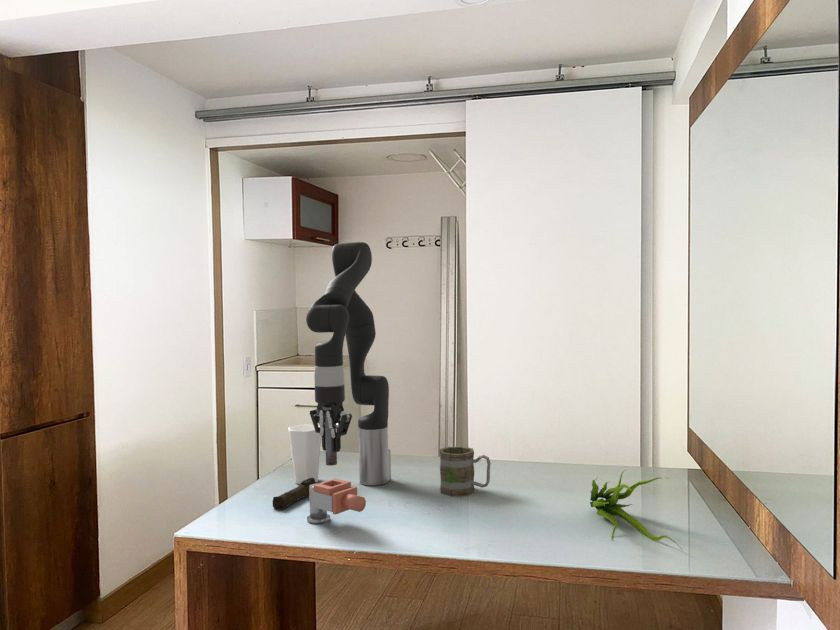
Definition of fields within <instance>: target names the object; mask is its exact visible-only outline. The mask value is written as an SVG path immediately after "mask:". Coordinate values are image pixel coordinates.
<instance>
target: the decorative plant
mask: <svg viewBox="0 0 840 630" xmlns="http://www.w3.org/2000/svg"><path fill="white" fill-rule="evenodd" d="M625 471H627V469H625V470H624V471H622V472H621V474H620V477H619V480H618V484H617V486H615V487H612V488H611V487H610V488H609V489H607V488H608V483H609V484H610V481H606V482H605V483H604V484H603V487H602V488H599V485H598V484H597V482H596V479H598V476H597V478H596V479H593V480H592V483H591V486H592V487H591V488H592V489H591V491H590V499H589V500H590V502H589V504H590V508H595V509H596V515H597V516H600V517H603V518H604V519H607V520H609V521H610V522H611V523H612V524H613V525H614V526H613V529H612V533H611V541H614V539H613V538H614V534H615V532H616V530H617V527H618V525H619V522H618V520H617V519H616V517H619V518H621V519H623V520H624V521H626V522H627V523H628V524H630V525H631V526H632V527H633V528H635V529H636V530H637V531H639V532H640V533H641V534H642V535H643V536H645V537H647V538H648V539H650V540H653V541H660V540H662V539H664V538H667V539H669V540H670V541H672V542H674V543H675V544H676V545H677V546H678V547H679V549H680V550H683V548H682V547H681V546H680V545H679V544H678V543H677V541H675V540H674V539H672V538H671V537H669V536H668V535H665V534H663V535H661V536H657V535H651V534H650V532H649V531H648V530H647V528H645V526H644V525H643V523H642V522H640V521H639V520H637V519H636V518H635V517H634V516H632V515H631V514H629V513H628V512H627V511H625V510H624V509H623V508H626V507H629V506H634V505H633V504H631V503H630V504H621V503H619V500H624V499H627V498H628V497H630V496H631V494H633V492H634V490H635V489H636V488H638V487H639V486H642V485H646V484H649V483H651V482H654V481H656V480H658V479H661V477H656V478H653V479H652V478H651V479H649V480H642V481H641V480H640V481H637V482H636V483H634V484H633V485H631V486H629V485H627V484H624V483H623V484H622V479H623V473H624V472H625ZM666 479H668V480H670V478H669V477H666ZM624 488H625V489H626V490H625V492H622V490H623V489H624ZM599 489H600V490H599ZM615 516H616V517H615Z"/></svg>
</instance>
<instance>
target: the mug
mask: <svg viewBox="0 0 840 630" xmlns="http://www.w3.org/2000/svg"><path fill="white" fill-rule="evenodd" d="M439 456H440V457H439V458H440V459H439V460H440V461H439V465H440V466H439V473H440V474H439V475H440V487H439V491H440V492H439V493H440V494H442V495H445V496H449V497H466V496H469V495H472V494H475V493H476V492H475V491H476V490H475V486H476V487H479V488H481V489H482V488H485V487H486V488H487V487H488V486H489V484H490V480H491V479H490V478H491V460H490V457H489V456H487V455H485V454H483V455H479V456H478V457H476V459H474V457H475V450H474V448H471V447H468V446H462V445H461V446H447V447H444V448H443V447H442V448H440V449H439ZM481 459H485V460H486V464H487V467H486V481H485V483H481V482H478V481H475V479H474V478H475V466H474V465H475V464H476V463H479V462H480V461H481Z"/></svg>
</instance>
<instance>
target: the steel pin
mask: <svg viewBox="0 0 840 630" xmlns="http://www.w3.org/2000/svg"><path fill="white" fill-rule="evenodd" d="M322 410H324V411H325V448H326V451H325V465H326V466H328V467H329V466H331V467H332V466H336V465H338V455H337V454H338V452H335V453H334V452H332V435H331V429H330V428H329V423H328V418H327V414H326V412H327V411H331V407H330V406H322ZM336 424H337V423H335V424H334V425H336ZM335 430H336V431H337V428H336V429H335Z"/></svg>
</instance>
